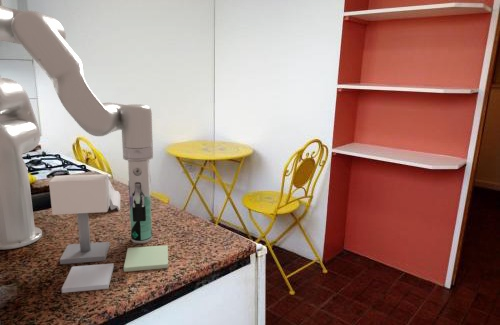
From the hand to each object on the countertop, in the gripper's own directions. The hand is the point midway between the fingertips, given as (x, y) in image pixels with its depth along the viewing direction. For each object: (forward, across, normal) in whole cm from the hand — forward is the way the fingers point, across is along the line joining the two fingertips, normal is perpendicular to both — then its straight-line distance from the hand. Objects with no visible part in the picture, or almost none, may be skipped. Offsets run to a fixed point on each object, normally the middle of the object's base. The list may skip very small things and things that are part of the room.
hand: (140, 214), depth 99 cm
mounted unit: (+7, -7, +13) cm, 16 cm away
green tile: (+7, -12, -2) cm, 14 cm away
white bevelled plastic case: (+8, +30, +13) cm, 34 cm away
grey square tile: (+7, -19, +10) cm, 23 cm away
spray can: (+7, 0, 0) cm, 7 cm away
